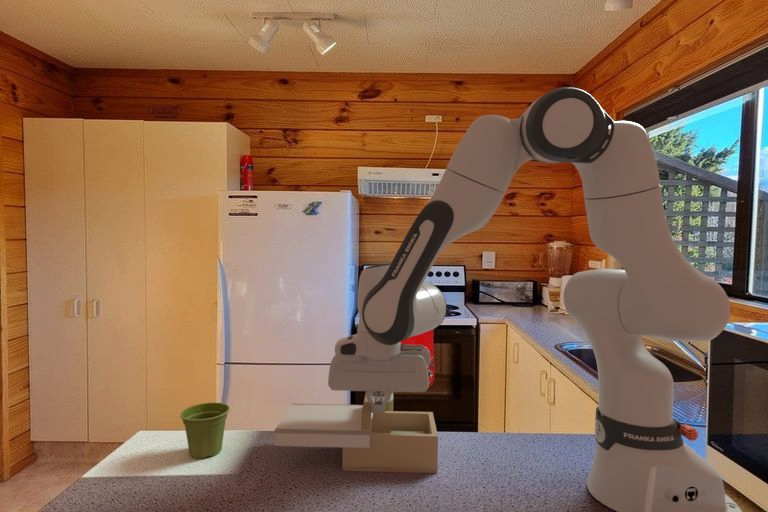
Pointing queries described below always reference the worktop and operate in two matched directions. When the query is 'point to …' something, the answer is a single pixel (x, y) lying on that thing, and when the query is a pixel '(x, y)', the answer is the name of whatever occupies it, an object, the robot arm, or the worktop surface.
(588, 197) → the robot arm
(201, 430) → the plant pot
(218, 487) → the worktop surface
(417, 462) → the tan open box
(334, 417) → the lid
